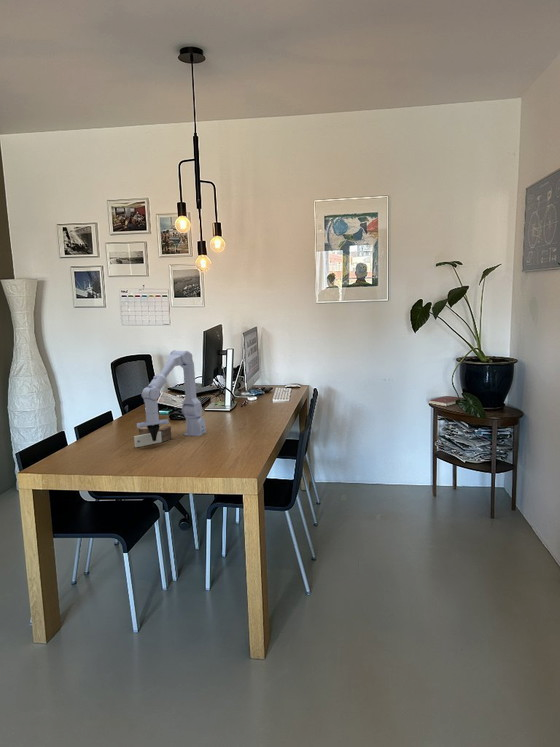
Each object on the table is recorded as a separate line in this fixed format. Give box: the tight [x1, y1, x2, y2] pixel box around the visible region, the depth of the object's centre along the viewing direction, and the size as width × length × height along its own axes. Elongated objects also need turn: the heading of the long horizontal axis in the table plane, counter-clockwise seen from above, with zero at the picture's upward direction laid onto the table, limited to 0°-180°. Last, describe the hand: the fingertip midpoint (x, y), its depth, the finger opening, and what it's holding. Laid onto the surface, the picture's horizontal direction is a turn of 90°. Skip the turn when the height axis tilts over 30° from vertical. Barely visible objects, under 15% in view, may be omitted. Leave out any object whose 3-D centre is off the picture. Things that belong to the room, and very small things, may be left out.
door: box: [133, 431, 163, 448], centre depth 250 cm, size 14×2×5 cm, turn 124°
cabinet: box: [137, 425, 172, 443], centre depth 260 cm, size 15×7×6 cm, turn 69°
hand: (154, 440), depth 247 cm, fingers closed
